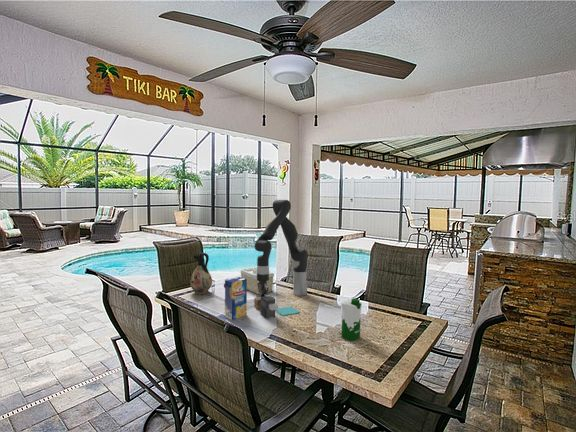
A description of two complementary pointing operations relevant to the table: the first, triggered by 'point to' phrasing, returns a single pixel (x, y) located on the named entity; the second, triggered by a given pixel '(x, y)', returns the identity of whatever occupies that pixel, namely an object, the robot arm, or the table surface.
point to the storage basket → (255, 279)
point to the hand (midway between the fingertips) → (262, 300)
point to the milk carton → (351, 319)
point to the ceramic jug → (201, 275)
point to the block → (257, 303)
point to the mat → (287, 311)
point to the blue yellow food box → (235, 298)
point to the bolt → (272, 306)
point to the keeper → (264, 309)
